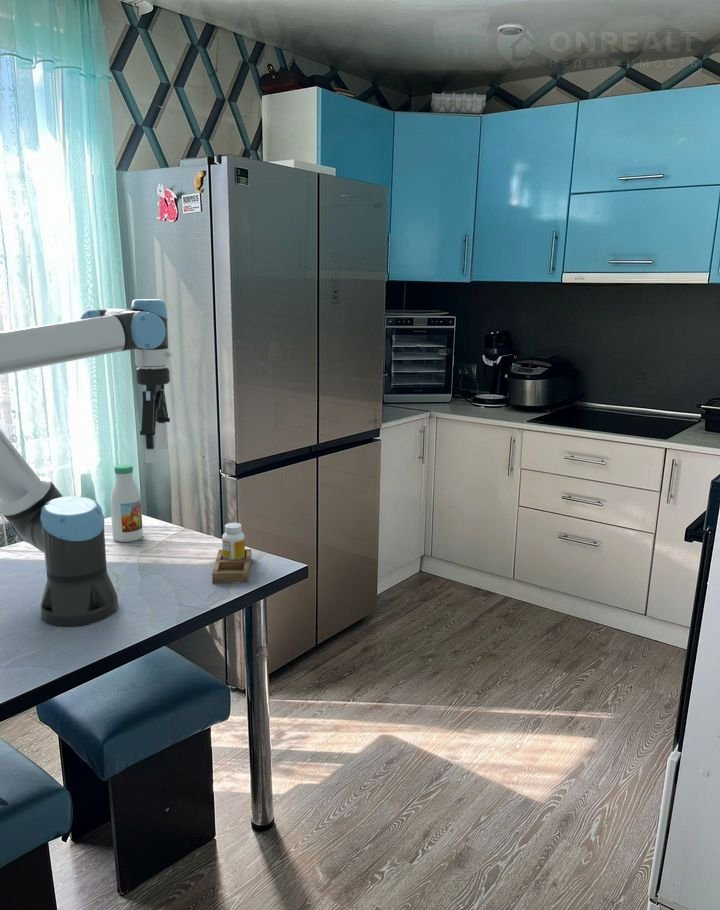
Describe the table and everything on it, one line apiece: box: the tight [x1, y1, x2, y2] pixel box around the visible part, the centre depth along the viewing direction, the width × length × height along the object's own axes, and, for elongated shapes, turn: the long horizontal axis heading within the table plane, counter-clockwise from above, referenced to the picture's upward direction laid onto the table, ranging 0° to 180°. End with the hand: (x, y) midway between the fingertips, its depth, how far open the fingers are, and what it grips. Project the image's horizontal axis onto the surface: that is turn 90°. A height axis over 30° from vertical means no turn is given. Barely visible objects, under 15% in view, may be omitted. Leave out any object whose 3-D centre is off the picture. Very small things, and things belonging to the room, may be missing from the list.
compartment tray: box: [211, 548, 253, 585], centre depth 173 cm, size 15×8×2 cm, turn 5°
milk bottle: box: [110, 463, 144, 543], centre depth 192 cm, size 8×8×20 cm
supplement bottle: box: [221, 522, 246, 560], centre depth 176 cm, size 5×5×10 cm
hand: (157, 455), depth 174 cm, fingers open, 13 cm apart
